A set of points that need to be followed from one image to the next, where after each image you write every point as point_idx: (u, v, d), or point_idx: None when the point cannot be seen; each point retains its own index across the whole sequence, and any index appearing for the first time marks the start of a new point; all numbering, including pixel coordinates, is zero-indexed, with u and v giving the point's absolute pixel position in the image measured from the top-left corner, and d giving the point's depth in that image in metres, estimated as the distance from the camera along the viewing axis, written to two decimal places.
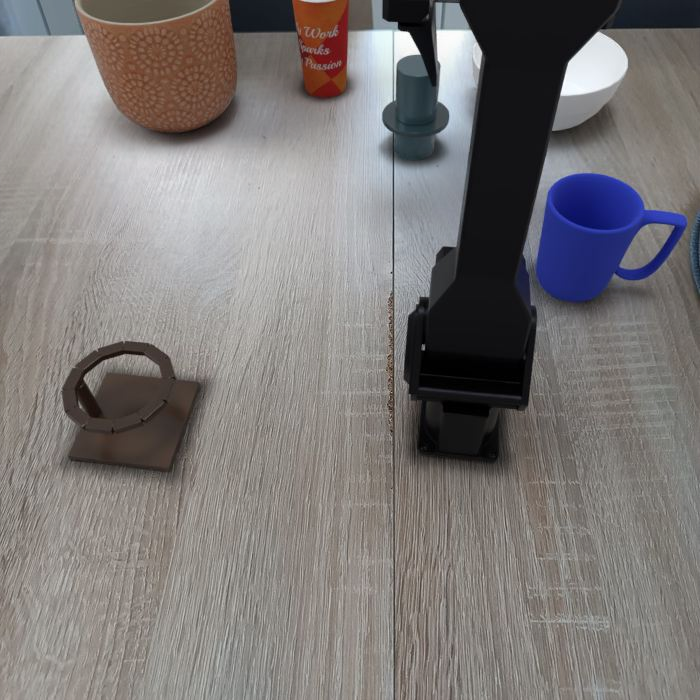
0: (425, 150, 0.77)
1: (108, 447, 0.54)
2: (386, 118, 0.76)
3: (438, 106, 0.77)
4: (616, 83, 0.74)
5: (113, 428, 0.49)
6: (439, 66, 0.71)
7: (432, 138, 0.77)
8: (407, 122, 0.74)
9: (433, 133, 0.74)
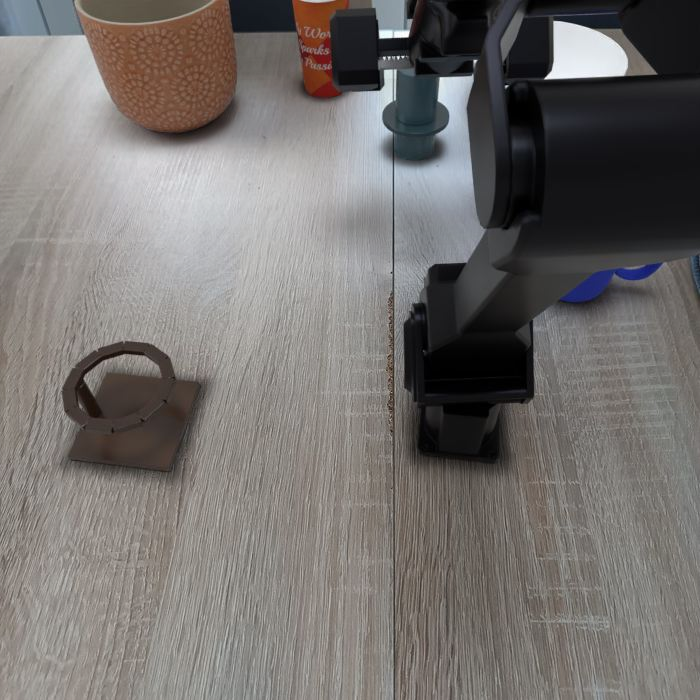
0: (425, 150, 0.77)
1: (108, 447, 0.54)
2: (386, 118, 0.76)
3: (438, 106, 0.77)
4: None
5: (113, 428, 0.49)
6: None
7: (432, 138, 0.77)
8: (407, 122, 0.74)
9: (433, 133, 0.74)
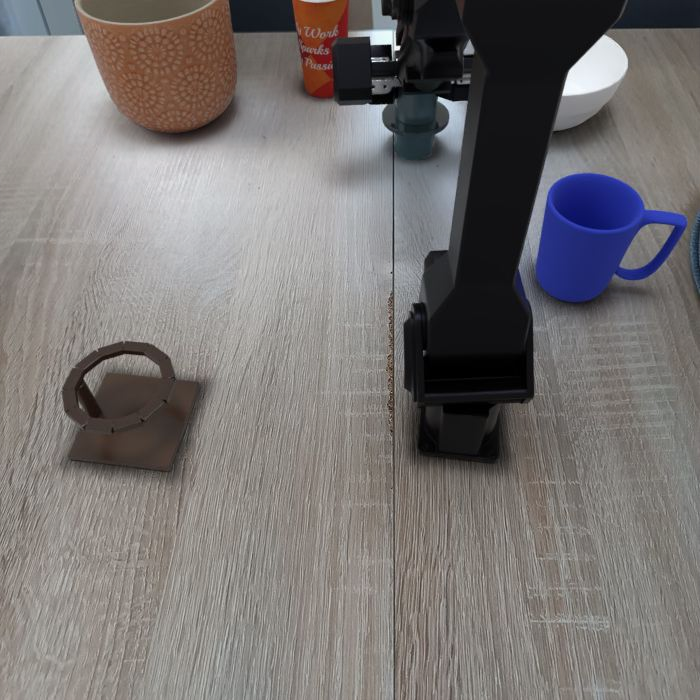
0: (425, 150, 0.77)
1: (108, 447, 0.54)
2: (386, 118, 0.76)
3: (438, 106, 0.77)
4: (616, 83, 0.74)
5: (113, 428, 0.49)
6: None
7: (432, 138, 0.77)
8: (407, 122, 0.74)
9: (433, 133, 0.74)
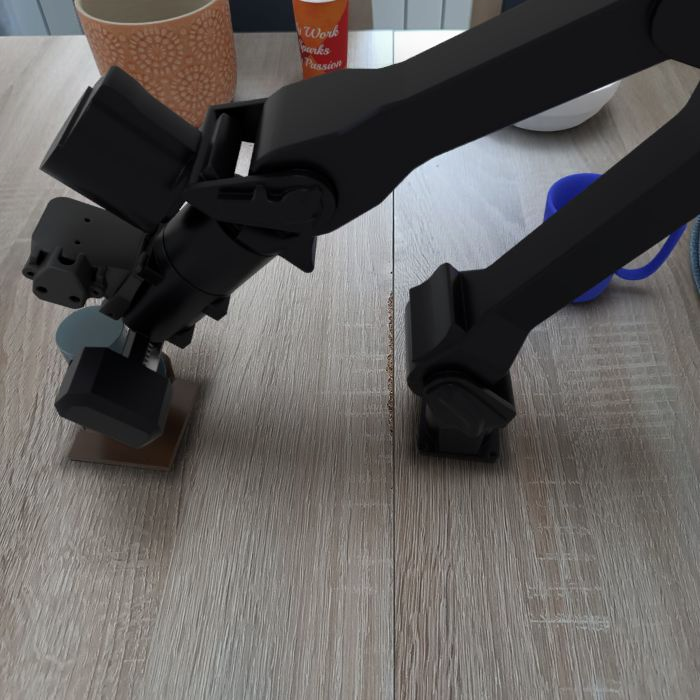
0: None
1: (108, 447, 0.54)
2: None
3: None
4: (616, 83, 0.74)
5: None
6: None
7: None
8: None
9: None
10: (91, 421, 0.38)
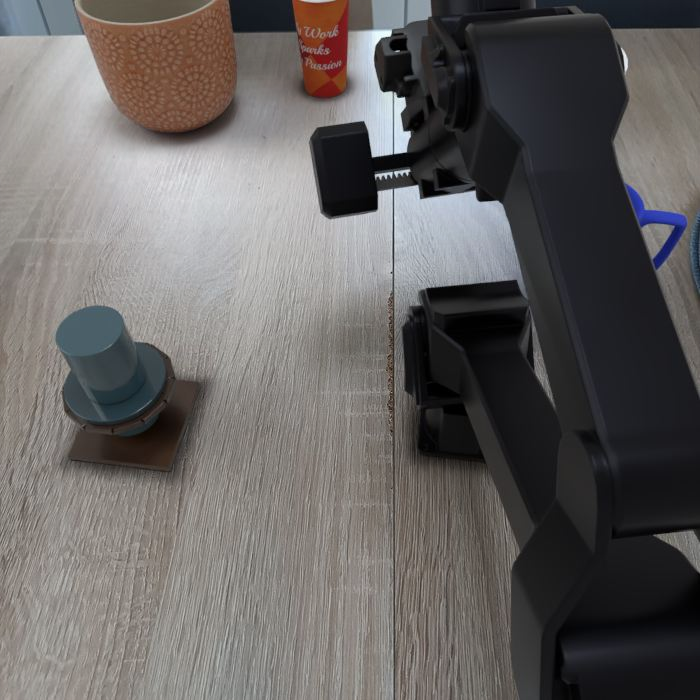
0: None
1: (108, 447, 0.54)
2: (110, 415, 0.49)
3: None
4: None
5: (113, 428, 0.49)
6: (104, 306, 0.48)
7: None
8: (136, 389, 0.50)
9: None
10: (313, 161, 0.46)
